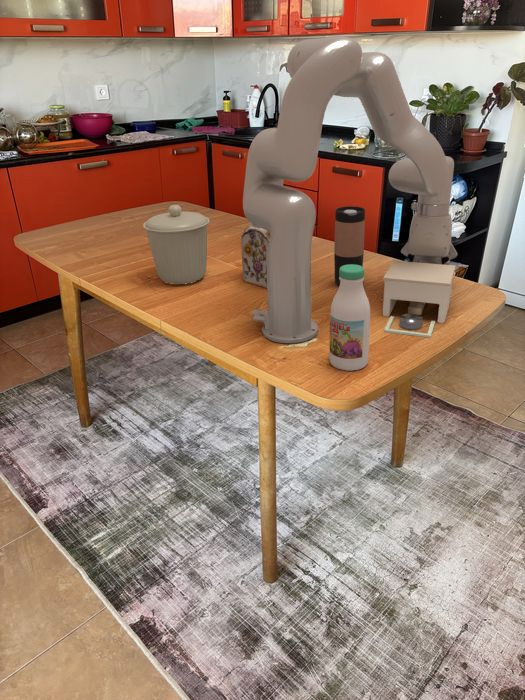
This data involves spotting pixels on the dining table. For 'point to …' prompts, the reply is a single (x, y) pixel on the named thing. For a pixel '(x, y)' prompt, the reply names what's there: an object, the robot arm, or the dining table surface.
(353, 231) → the travel mug
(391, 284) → the white open box
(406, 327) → the ball
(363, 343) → the milk bottle
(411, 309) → the grey block on stick
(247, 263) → the decorative jar
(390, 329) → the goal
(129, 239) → the dining table surface
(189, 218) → the canister
